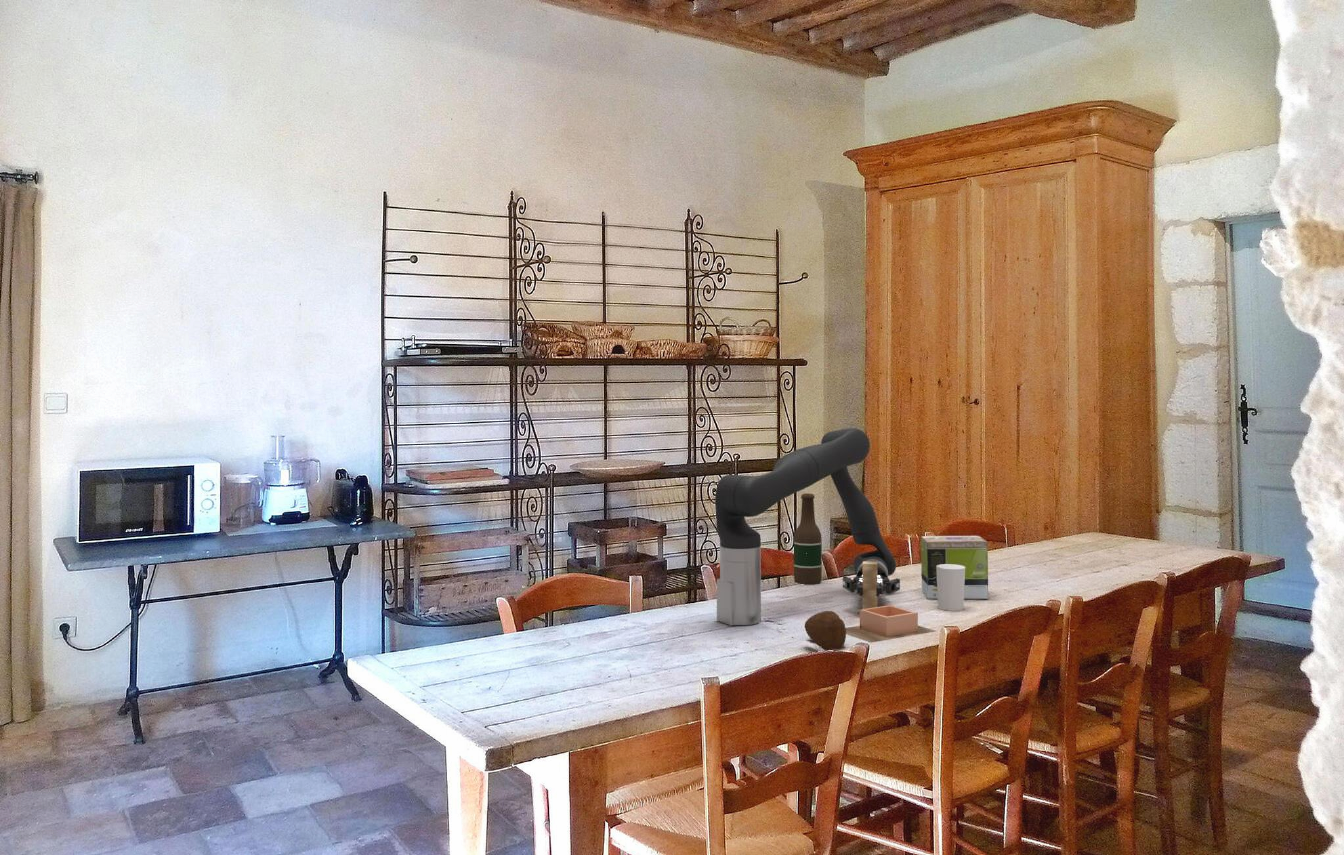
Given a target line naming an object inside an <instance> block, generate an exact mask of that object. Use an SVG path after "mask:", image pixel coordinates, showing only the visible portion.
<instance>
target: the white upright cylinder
mask: <svg viewBox="0 0 1344 855" xmlns="http://www.w3.org/2000/svg"><path fill="white" fill-rule="evenodd" d="M936 569H937V592H938V599H937V608H938V609H939V610H942V611H949V612H959V611H960V612H961V611H963V610H964V603H965V602H964V600H965V599H964V583H965V567H964V566H962V565H955V564H941V565H937V566H936Z"/></svg>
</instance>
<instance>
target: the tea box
mask: <svg viewBox="0 0 1344 855" xmlns="http://www.w3.org/2000/svg"><path fill="white" fill-rule="evenodd" d="M988 550H989V548H988V541H987V540H985V539H984V538H982V537H981V536H980V535H930V536H929V535H923V536H920V554H921V555H920V557H921V558H920V561H921V570H920V571H921V575H920V576H921V591H922V592H923V594H924V595H925V597H926V598H927V599H928V600H929V599H930V600H932V599H933V600H934V599H935V600H938V592H937V569H936V566H937V565H941V564H955V565H962V566H964V567H965V583H964V600H965V599H966V600H968V599H969V600H970V599H972V600H976V599H977V600H978V599H979V600H985V599H986V600H988V599H989V556H988V555H989V554H988V553H989V551H988Z"/></svg>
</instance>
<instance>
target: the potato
mask: <svg viewBox="0 0 1344 855" xmlns="http://www.w3.org/2000/svg"><path fill="white" fill-rule="evenodd" d="M846 628H847V627H846V625H845V622H844V621H843V619H841V618H840V615H839V614H837V613H836V612H835V611H833V610H826V611H821V612H818V613H815V614H814V615H811V616H810V617H809V618H807V620H806V621H805V622H804V629H805V632H806V634H807V636H808V637H809V639H811V641H812V642H813V643H814V644H815V645H817V647H819V648H821V649H823V650H824V651H826V650H835V649H841V648H843V646H844V645H845V642H846V638H847V634H846Z"/></svg>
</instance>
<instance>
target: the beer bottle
mask: <svg viewBox="0 0 1344 855" xmlns="http://www.w3.org/2000/svg"><path fill="white" fill-rule="evenodd" d="M800 499H801V510H800V511H801V512H800V513H801V514H800V523H799V525H798V526H797V527H796V529H795V533H794V536H793V537H794V538H793V580H794V581H793V582H794V583H796V584H799V585H817V584H818V585H819V584H821V582H822V573H823V572H822V571H823V568H822V567H823V565H822V564H823V561H822V560H823V559H822V558H823V555H822V554H823V547H822V545H823V543H822V542H823V541H822V539H823V537H822V533H821V530H820V528H819V526H818V525H817V523H816V517H815V503H814V499H815V494H813V493H802V494H801V497H800ZM806 553H807V554H806Z"/></svg>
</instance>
